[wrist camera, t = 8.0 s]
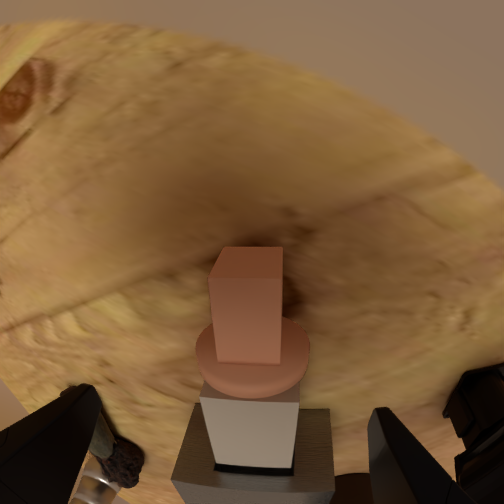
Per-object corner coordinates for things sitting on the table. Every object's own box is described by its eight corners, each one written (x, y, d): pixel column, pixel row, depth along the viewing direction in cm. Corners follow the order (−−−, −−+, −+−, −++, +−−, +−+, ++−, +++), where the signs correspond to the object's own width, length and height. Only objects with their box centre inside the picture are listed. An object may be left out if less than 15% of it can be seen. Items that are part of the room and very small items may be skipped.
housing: (329, 409, 24) (335, 491, 16) (316, 460, 27) (316, 524, 19) (195, 403, 25) (170, 479, 17) (209, 455, 29) (194, 516, 21)
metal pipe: (67, 381, 28) (44, 413, 22) (114, 392, 27) (92, 430, 22) (118, 461, 34) (106, 489, 29) (158, 471, 33) (148, 501, 28)
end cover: (310, 239, 17) (322, 293, 11) (298, 409, 23) (297, 473, 17) (201, 238, 18) (163, 289, 12) (223, 406, 24) (208, 467, 18)
